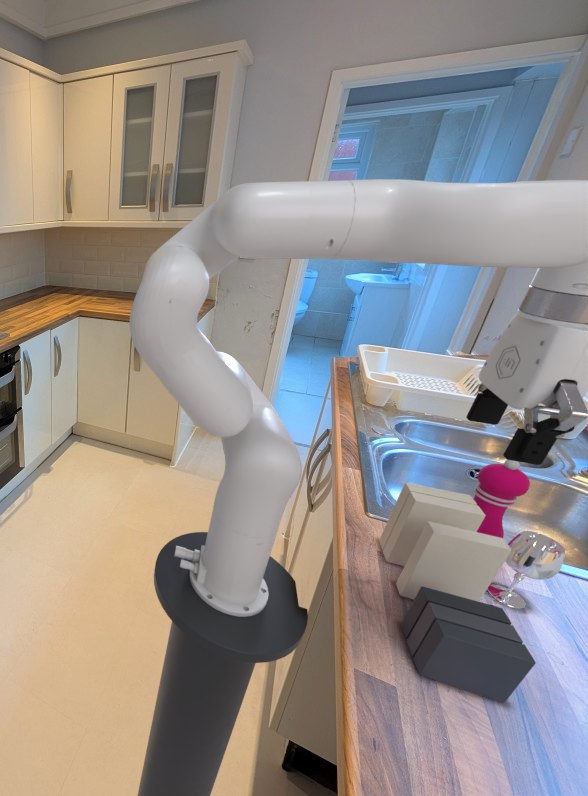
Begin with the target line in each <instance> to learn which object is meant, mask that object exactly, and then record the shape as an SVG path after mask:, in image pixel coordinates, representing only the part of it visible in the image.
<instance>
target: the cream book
mask: <svg viewBox="0 0 588 796" xmlns="http://www.w3.org/2000/svg"><path fill="white" fill-rule="evenodd" d="M511 551H512V550H511V548H510V547H509V546H508V542H507V541H506V540H505V538H504V537H503V538H500V537H495V536H491V535H487V534H482V533H478V532H473V531H469V530H465V529H460V528H456V527H451V526H447V525H443V524H438V523H434V522H430V521H428V522H427V524H426V526H425V527H424V529H423V531H422V533H421V535H420V537H419V539H418V541H417V543H416V545H415V547H414V549H413V551H412V553H411V555H410V557H409V559H408V561H407V563H406V565H405V566H403V569H402V571H401V573H400V575H399V577H398V578H397V581H396V583H395V586H396V588H397V591H398V593H399V596H400V597H403V598H406V599H411V600H414V599H415V597H416V595H417V593H418V592H419V590H420V588H421V586H423V587H427V588H430V589H434V590H438V591H441V592H445V593H449V594H452V595H456V596H460V597H463V598H467V599H471V600H474V601H478V602H481V599H482V598H483V596H484V595H485V593H486V592H487V591H488V590H487V588H488V587H489V585H492V583H493V580H494V579H495V577H496V576H497V574H498V573H499V571H500V570H501V568H502V567H503V565H504V563H506V561H505V560H506V559H507V557H508V556H509V554H510V552H511Z"/></svg>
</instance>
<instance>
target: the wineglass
mask: <svg viewBox="0 0 588 796" xmlns="http://www.w3.org/2000/svg"><path fill="white" fill-rule="evenodd" d="M507 544H508V546H509V547H510V548H511V550H512V551H511V552H510V554H509V556H508V557H507V559H506V560H505V563H506V564H507V566H508V567H509V568H511V569H512V570H513V571H514V572H515V574H514V575H513V581H512V583H511V584H510V585H509V587H505V586H502V585H500V584H492V583H491V584H490V585H489V587H488V588H487V590H486V591H487V592H488V594H489V595H490V596H491V597H492V598H494V599H495V600H496V601H498V602H500V603H501V604H503V605H505V606H507V607H510V608H513V609H520V610H521V609H524V608H526V601H525V600H524V599H523V598H522V597H521V596H520V594H518V593H516V592H515V591H514V589H515V587H516V586H517V585H519V583H521V582H522V581H523V580H525V577H526V578H529V579H532V580H537V581H538V580H539V581H540V580H543V581H544V580H549V579H552V578H553V577H555V576H556V575H557V574H558V573H559V572H560V570H561V568H562V566H563V564H564V560H565V557H566V556H565V555H566V549H565V547H564V546H563V545H562V544H561V543H560V542H558V541H557V540H555V539H553V538H552V537H550V536H548V535H545V534H543V533H539V532H536V531H532V530H524V531H521V532H520V533H518V534H517V535H516V536H514V537H513V538H511V540H510V541H509V542H507Z"/></svg>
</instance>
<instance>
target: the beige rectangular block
mask: <svg viewBox="0 0 588 796" xmlns="http://www.w3.org/2000/svg"><path fill="white" fill-rule="evenodd" d="M473 498H474V497H472V495H471V494H466V493H462V492H456V491H451V490H446V489H441V488H436V487H431V486H428V485H427V486H426V485H422V484H416V483H411V482H407V481H405V482H404V484H403V485H402V489H401V491H400V493H399V495H398V498H397V500H396V502H395V504H394V506H393V508H392V510H391V513H390V514H389V517H388V520H387V521H386V524H385V526H384V528H383V531H382V532H381V535H380V537H379V539H378V543H379V546H380V549H381V550H382V554H383V557H384V559H385V562H386V563H389V564H390V563H391V564H394V565H397V566H402V567H405V565H406V563H407V561H408V559H409V557H410V555H411V553H412V551H413V549H414V547H415V545H416V543H417V541H418V539H419V537H420V535H421V533H422V531H423V529H424V527H425V526H426V524H427V522H428V521H430V522H434V523H438V524H443V525H447V526H451V527H456V528H460V529H465V530H469V531H473V532H477V530H478V528H479V526H480V525H481V523H482V521H483V520H484V518H485V516H486V515H485V514H484V513H483V511H482V510H481V509H480V507H479V506H477V503H476V502H475V501H474V499H473Z"/></svg>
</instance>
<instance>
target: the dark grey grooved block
mask: <svg viewBox="0 0 588 796" xmlns="http://www.w3.org/2000/svg"><path fill="white" fill-rule="evenodd" d="M400 627H401V630H402V632H403V635H404V638H405V640H406V642H407V646H408V649H409V651H410V655H411V656H412V657H413V658H412V659H413V662H414V665H415V669H416V670H417V673H418V675H419V676H421V677H424V678H427V679H430V680H433V681H436V682H439V683H441V684H445V685H448V686H452V687H454V688H457V689H460V690H463V691H466V692H468V693H472V694H475V695H478V696H481V697H484V698H486V699H491V700H493V701H496V702H498V703H502V704H505V703H506V702H507V701H508V699H509V698H510V697H511V695H512V694H513V693H514V691H516V689H517V688H518V686H519V685H520V684H521V683H522V682H523V680H524V679H525V678H526V676H527V675H528V674H529V673H530V672H531V670H532V669H533V668H534V666H535V665H536V664H537V662H536V661H535V659H534V657H533V655H532V654H531V652H530V651H529V649H528V648H527V646H526V645H525V644H524V641H523V640H522V638H521V636H520V635H519V632H518V631H517V630H516V628H515V626H514V625H512V622H511V620H510V618H509V617H508V615H507V613H506V612H505V611H504V608H503V607H499V606H495V605H492V604H488V603H485V602H482V601H479V602H478V601H474V600H471V599H467V598H463V597H460V596H456V595H452V594H449V593H445V592H441V591H438V590H434V589H430V588H427V587H423V586H421V588H420V590H419V592H418V593H417V595H416V597H415V599H413V601H412V603H411V605H410V606H409V608H408V609H407V612H406V613H405V616H404V617H403V619H402V621H401V623H400Z"/></svg>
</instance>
